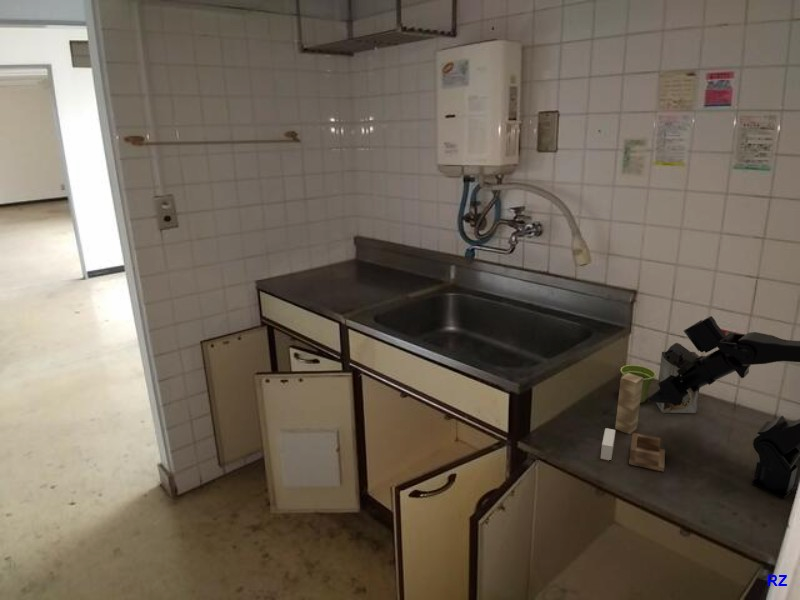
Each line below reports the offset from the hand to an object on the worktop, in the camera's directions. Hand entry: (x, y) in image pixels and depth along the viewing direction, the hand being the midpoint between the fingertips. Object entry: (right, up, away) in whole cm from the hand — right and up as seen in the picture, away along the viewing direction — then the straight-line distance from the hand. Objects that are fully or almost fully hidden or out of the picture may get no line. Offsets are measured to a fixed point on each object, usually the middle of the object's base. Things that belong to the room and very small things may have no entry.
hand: (657, 394), depth 138 cm
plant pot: (+5, -6, +24) cm, 25 cm away
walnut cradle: (-5, -15, -4) cm, 16 cm away
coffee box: (+14, -7, +19) cm, 24 cm away
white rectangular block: (-13, -14, -1) cm, 19 cm away
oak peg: (-4, -11, +9) cm, 15 cm away
